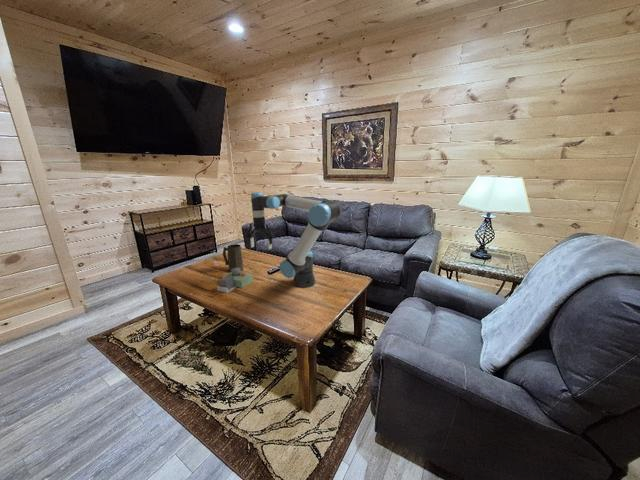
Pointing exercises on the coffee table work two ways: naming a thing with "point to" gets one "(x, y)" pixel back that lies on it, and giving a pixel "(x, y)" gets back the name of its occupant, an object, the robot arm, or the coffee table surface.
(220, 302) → the coffee table surface
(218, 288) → the green base with dome
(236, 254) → the beer stein
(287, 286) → the coffee table surface
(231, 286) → the tall grey cuboid
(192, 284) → the coffee table surface
